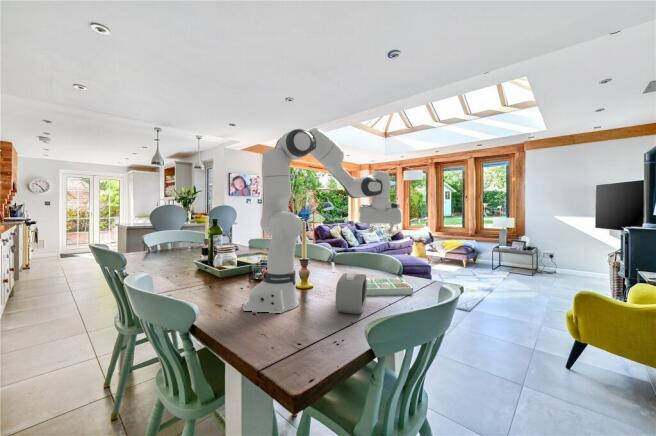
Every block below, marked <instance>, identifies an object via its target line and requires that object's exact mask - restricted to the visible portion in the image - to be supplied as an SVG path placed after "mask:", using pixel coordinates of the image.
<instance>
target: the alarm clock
mask: <svg viewBox="0 0 656 436" xmlns="http://www.w3.org/2000/svg"><path fill="white" fill-rule="evenodd" d="M367 278H368V277H367V275H366V274H364V273H363V274H362V273H356V272H348V273H346V272H345V273H343V274H341V276H340V277H339V279H338V280H337V282H336V289H335V308H336V309H335V310H336V311H338V312H340V313H344V314H357V315H361V314H362V312H363V311H364V307H365V306H366V305H365V304H366V300H367V295H366V294H367Z"/></svg>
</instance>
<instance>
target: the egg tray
mask: <svg viewBox="0 0 656 436" xmlns="http://www.w3.org/2000/svg"><path fill="white" fill-rule="evenodd" d="M369 279H370V281H371V283H370V284H367V294H366V296H396V295H397V296H399V295H400V296H401V295H414V288H413V286H411V285H410V284H409V283H408V282H407V281H406V280H405V279H403V278H399V279H400V280H401V282H405V283H407V285H408V288H399V287H398V286H399V284H400V283H392V280H393V279H394V278H369ZM385 282H386V283H389V284H390V287H391V288H381V285H382V283H385Z"/></svg>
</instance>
